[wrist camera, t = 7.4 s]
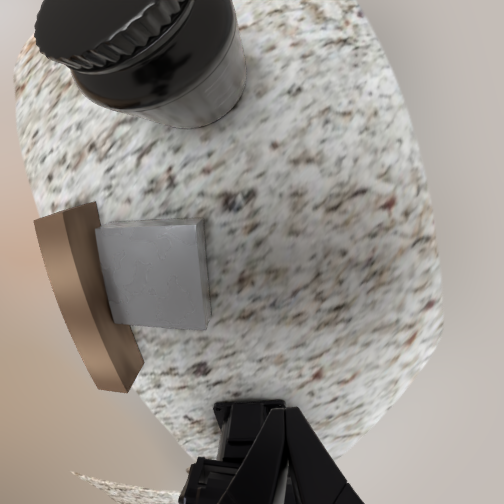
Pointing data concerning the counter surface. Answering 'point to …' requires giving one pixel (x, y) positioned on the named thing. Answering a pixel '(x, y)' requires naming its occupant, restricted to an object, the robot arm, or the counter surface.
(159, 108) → the supplement bottle
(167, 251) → the grey metal plate
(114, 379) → the curved brown bar
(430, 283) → the counter surface
